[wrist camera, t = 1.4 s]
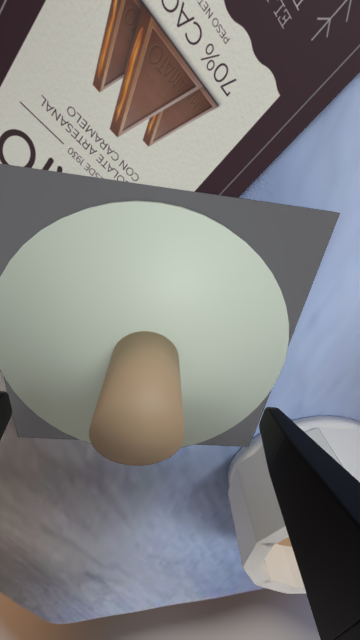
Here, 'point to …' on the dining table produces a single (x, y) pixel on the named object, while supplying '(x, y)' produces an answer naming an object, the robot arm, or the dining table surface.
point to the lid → (140, 328)
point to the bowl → (262, 505)
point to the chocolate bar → (168, 85)
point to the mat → (234, 213)
